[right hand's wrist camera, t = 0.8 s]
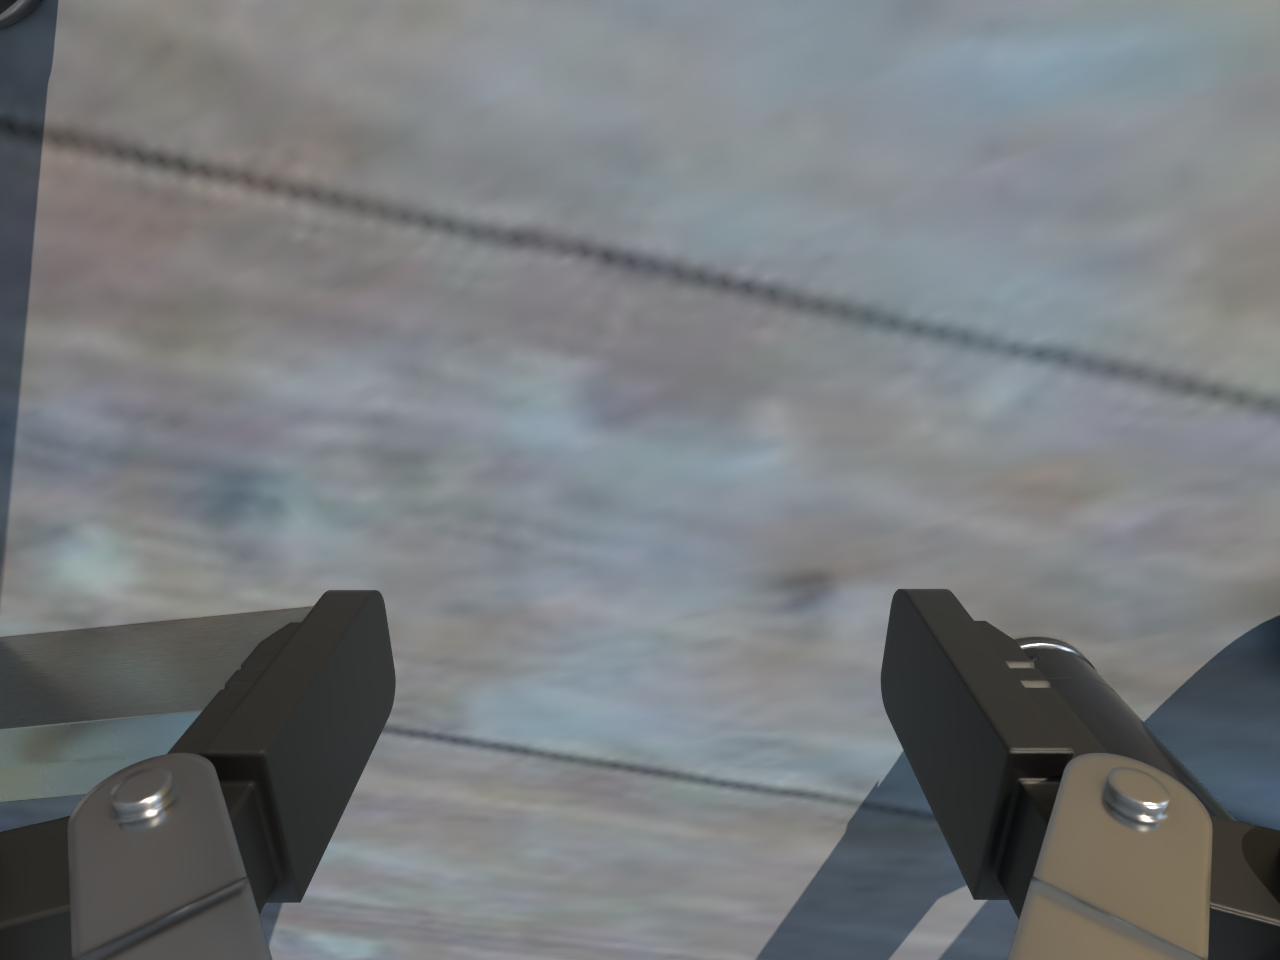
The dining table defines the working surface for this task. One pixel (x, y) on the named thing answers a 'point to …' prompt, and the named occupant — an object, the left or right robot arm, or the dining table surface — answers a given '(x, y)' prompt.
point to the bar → (112, 695)
